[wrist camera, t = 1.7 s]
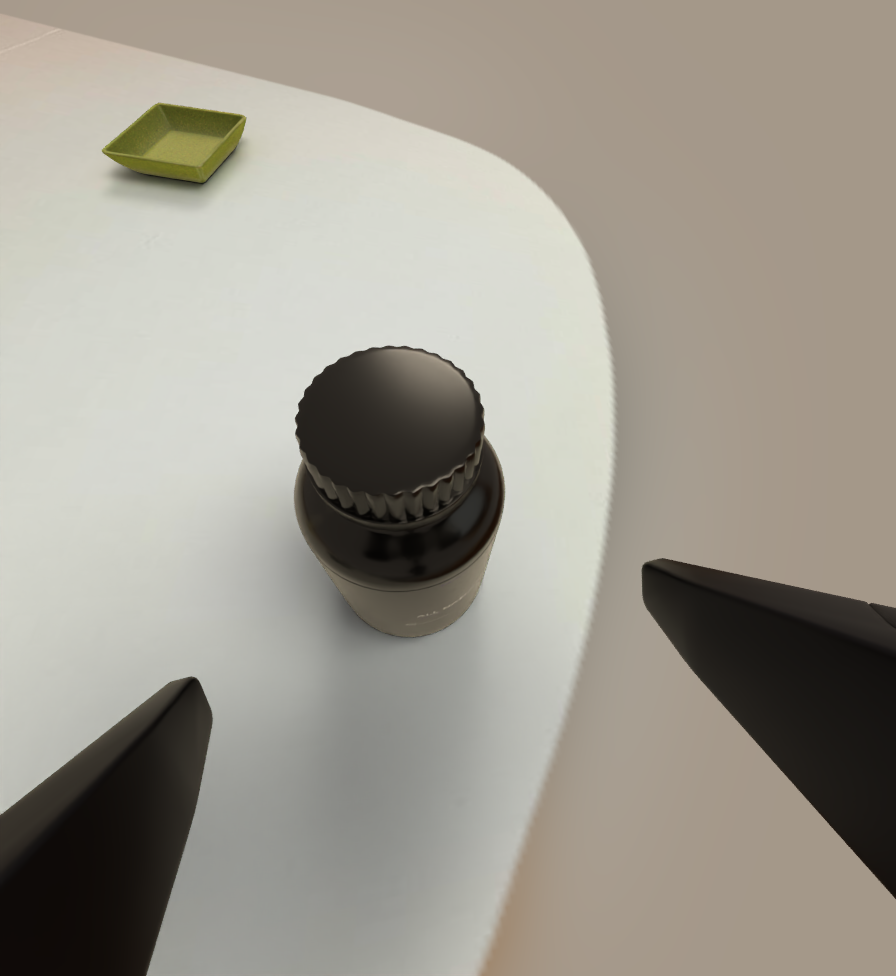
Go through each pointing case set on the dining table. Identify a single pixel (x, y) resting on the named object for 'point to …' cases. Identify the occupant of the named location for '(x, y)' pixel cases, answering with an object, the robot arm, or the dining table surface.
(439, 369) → the supplement bottle
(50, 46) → the dining table surface
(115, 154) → the olive green square dish
